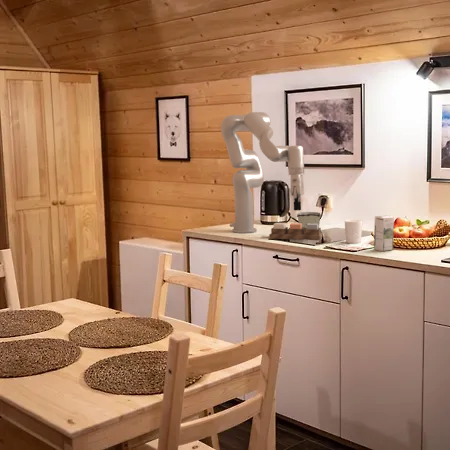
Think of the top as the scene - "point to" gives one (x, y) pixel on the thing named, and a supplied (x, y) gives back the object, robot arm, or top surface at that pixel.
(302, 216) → the food container
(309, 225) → the slate key
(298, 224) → the terracotta key
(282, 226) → the cream key
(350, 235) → the white cup
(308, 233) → the key console
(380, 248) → the syrup box
